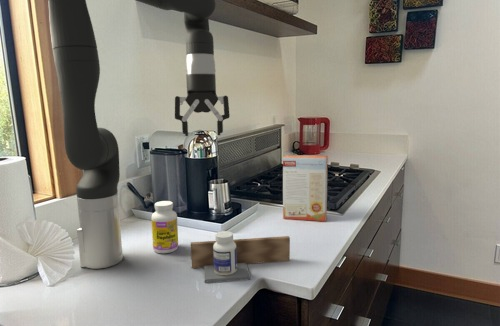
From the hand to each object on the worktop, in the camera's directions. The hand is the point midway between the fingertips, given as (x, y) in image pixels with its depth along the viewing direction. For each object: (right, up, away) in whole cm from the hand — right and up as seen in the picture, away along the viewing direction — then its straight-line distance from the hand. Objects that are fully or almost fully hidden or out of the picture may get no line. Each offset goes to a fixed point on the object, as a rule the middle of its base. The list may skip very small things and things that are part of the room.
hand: (203, 135), depth 100 cm
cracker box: (+31, -26, +25) cm, 48 cm away
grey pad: (+7, -33, -14) cm, 36 cm away
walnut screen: (+10, -32, -8) cm, 35 cm away
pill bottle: (+7, -32, -14) cm, 36 cm away
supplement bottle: (-10, -31, +1) cm, 32 cm away
